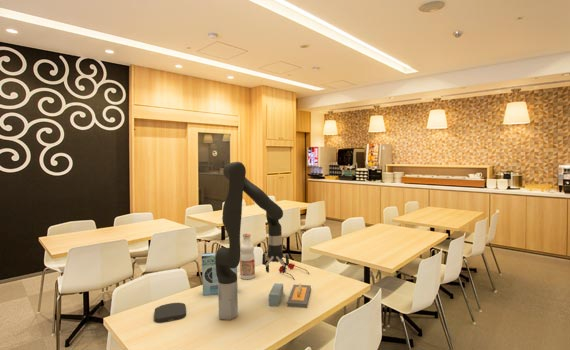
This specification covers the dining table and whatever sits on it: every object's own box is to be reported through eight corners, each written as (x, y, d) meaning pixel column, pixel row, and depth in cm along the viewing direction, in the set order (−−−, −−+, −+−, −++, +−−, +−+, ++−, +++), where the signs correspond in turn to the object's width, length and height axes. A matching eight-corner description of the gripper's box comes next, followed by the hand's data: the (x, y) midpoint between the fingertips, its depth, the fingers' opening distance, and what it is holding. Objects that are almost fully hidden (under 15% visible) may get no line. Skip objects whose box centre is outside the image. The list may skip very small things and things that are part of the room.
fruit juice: (237, 276, 207) (236, 234, 206) (250, 273, 212) (249, 232, 211) (244, 281, 199) (243, 236, 198) (257, 277, 204) (256, 234, 203)
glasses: (293, 268, 221) (293, 261, 221) (310, 275, 209) (310, 267, 208) (278, 273, 213) (277, 266, 212) (294, 280, 200) (294, 272, 200)
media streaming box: (155, 311, 162) (154, 305, 162) (185, 306, 167) (184, 300, 167) (154, 324, 148) (153, 318, 148) (186, 318, 153) (186, 312, 153)
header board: (306, 307, 162) (306, 297, 162) (287, 306, 164) (287, 295, 164) (310, 288, 186) (310, 279, 186) (293, 287, 188) (293, 278, 187)
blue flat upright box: (237, 289, 186) (236, 251, 185) (237, 293, 181) (236, 253, 180) (203, 292, 183) (202, 252, 182) (202, 295, 178) (201, 255, 177)
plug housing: (278, 306, 164) (278, 295, 164) (268, 305, 165) (268, 294, 165) (285, 289, 185) (285, 279, 185) (276, 289, 186) (276, 279, 185)
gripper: (260, 244, 168) (261, 274, 169) (287, 245, 166) (287, 275, 167) (263, 240, 175) (264, 269, 176) (289, 241, 173) (289, 270, 174)
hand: (275, 272), depth 171 cm, fingers open, 8 cm apart
